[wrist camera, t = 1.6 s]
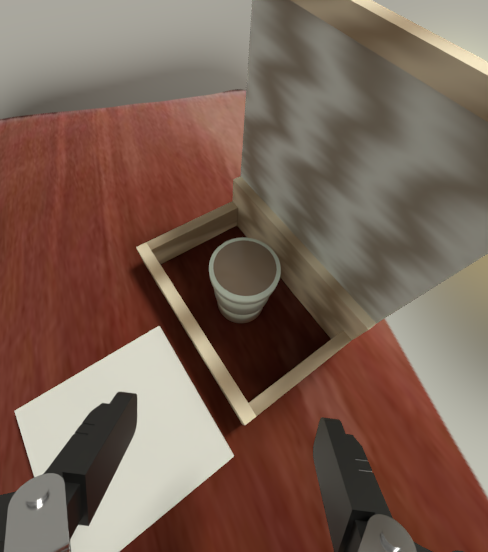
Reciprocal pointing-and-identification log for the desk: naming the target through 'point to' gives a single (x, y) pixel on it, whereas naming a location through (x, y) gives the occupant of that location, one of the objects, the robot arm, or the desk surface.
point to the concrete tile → (144, 445)
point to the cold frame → (348, 171)
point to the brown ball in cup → (243, 277)
